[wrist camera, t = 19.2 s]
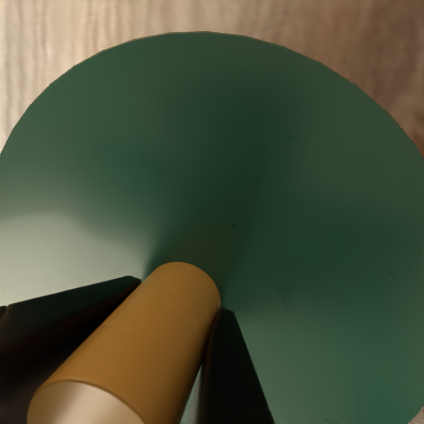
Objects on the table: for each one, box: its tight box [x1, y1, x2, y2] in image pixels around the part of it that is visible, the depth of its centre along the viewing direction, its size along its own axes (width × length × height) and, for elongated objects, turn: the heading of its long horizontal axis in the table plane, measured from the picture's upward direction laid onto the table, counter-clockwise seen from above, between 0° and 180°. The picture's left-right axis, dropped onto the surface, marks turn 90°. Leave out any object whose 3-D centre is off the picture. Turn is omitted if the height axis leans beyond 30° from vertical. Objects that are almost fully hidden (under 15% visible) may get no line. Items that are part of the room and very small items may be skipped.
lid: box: [0, 31, 424, 424], centre depth 7 cm, size 14×14×6 cm
